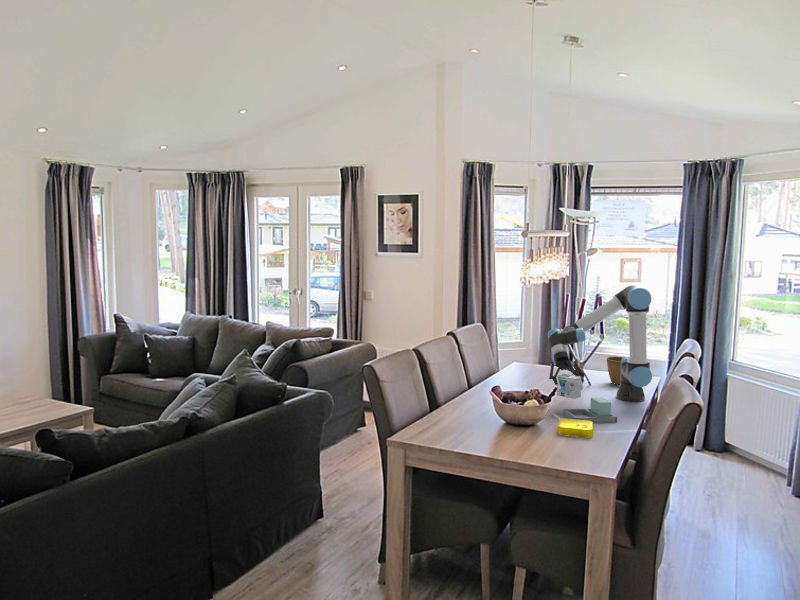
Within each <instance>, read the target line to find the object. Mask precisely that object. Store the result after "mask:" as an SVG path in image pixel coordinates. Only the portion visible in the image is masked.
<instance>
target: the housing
mask: <svg viewBox="0 0 800 600" xmlns="http://www.w3.org/2000/svg"><path fill="white" fill-rule="evenodd" d="M562 414H563V415H564V416H565V417H566V418H567V419H575V420H585V421H592V422H593V424H595V423H596V424H597V423H618V416H616V415H615V414H613V413H611V416H610V417H598V416H597V415H595V414H594V413H592V412H590V408H563V410H562Z"/></svg>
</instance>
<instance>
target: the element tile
mask: <svg viewBox="0 0 800 600" xmlns="http://www.w3.org/2000/svg"><path fill="white" fill-rule="evenodd" d="M558 421H559V422H558V425H557V426H558V427H557V429H558V430H557V434H558V435H559V434H561V435H560V436H564V435H569V436H568V437H574V436H578V437H577V438H583V437H592V438H593V428H594V427H593V426H594V425H593V424H594V423H593V422H592V421H585V420H575V419H569V418H559V420H558Z"/></svg>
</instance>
